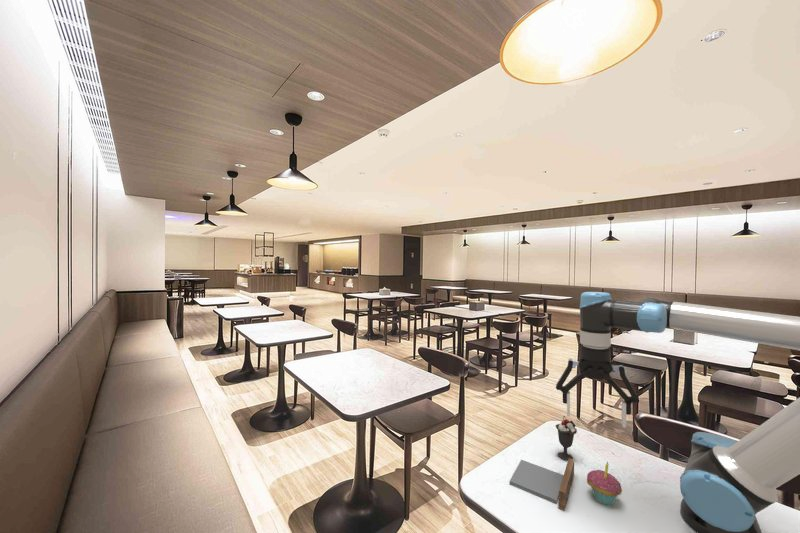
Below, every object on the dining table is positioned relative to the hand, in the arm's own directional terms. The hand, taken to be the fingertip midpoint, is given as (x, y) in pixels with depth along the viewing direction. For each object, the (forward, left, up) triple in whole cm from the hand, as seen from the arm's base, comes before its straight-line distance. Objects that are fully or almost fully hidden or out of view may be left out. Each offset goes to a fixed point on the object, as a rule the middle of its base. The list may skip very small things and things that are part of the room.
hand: (595, 419), depth 92 cm
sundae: (+10, -16, -23) cm, 30 cm away
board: (+15, +3, -23) cm, 27 cm away
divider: (+7, +2, -23) cm, 24 cm away
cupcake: (-2, -1, -23) cm, 23 cm away
